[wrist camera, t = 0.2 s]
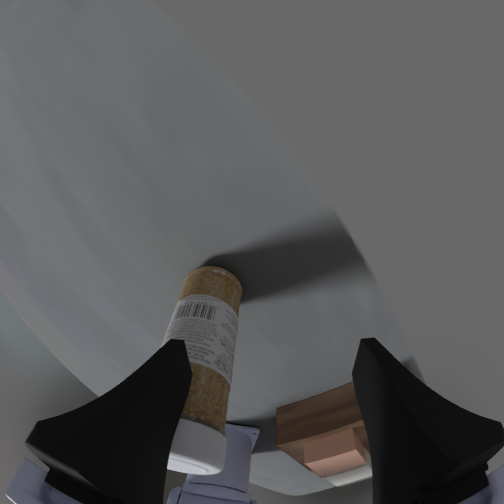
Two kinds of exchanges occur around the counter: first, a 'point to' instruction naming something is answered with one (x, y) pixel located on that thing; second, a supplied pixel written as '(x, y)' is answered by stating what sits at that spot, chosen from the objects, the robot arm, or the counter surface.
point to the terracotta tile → (334, 453)
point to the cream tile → (352, 473)
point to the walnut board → (319, 421)
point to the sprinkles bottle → (205, 367)
